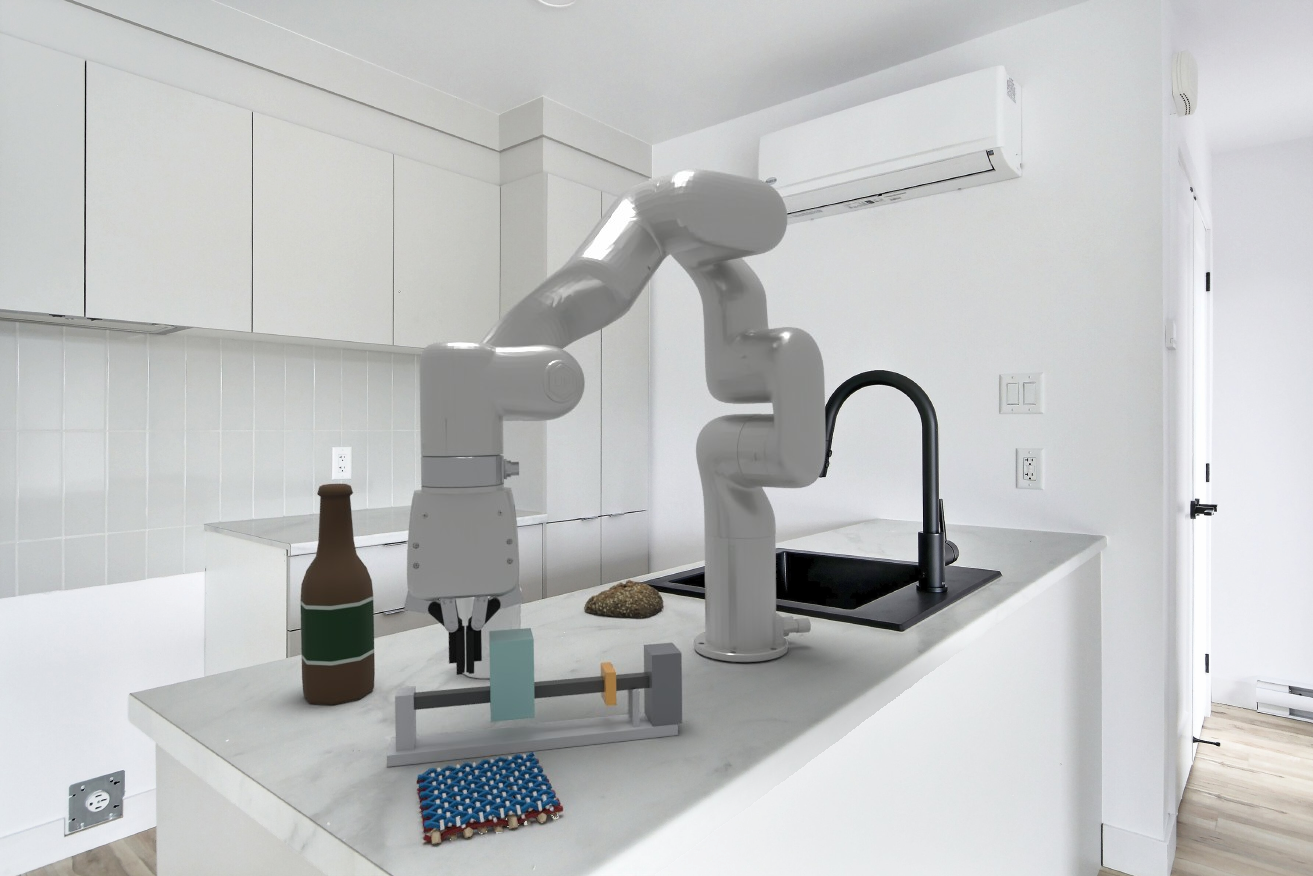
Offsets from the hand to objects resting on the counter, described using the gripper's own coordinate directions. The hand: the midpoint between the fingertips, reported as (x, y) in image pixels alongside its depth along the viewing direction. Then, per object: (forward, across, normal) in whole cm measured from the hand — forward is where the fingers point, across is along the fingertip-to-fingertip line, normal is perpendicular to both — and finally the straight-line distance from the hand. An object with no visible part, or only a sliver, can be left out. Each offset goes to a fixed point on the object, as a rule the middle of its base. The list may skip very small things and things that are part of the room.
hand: (465, 669), depth 71 cm
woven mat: (+8, -2, +11) cm, 14 cm away
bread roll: (+8, -25, -49) cm, 56 cm away
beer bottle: (+8, +14, -19) cm, 25 cm away
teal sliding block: (+4, -4, 0) cm, 6 cm away
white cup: (+8, -2, -23) cm, 24 cm away
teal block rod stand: (+8, -7, 0) cm, 10 cm away
